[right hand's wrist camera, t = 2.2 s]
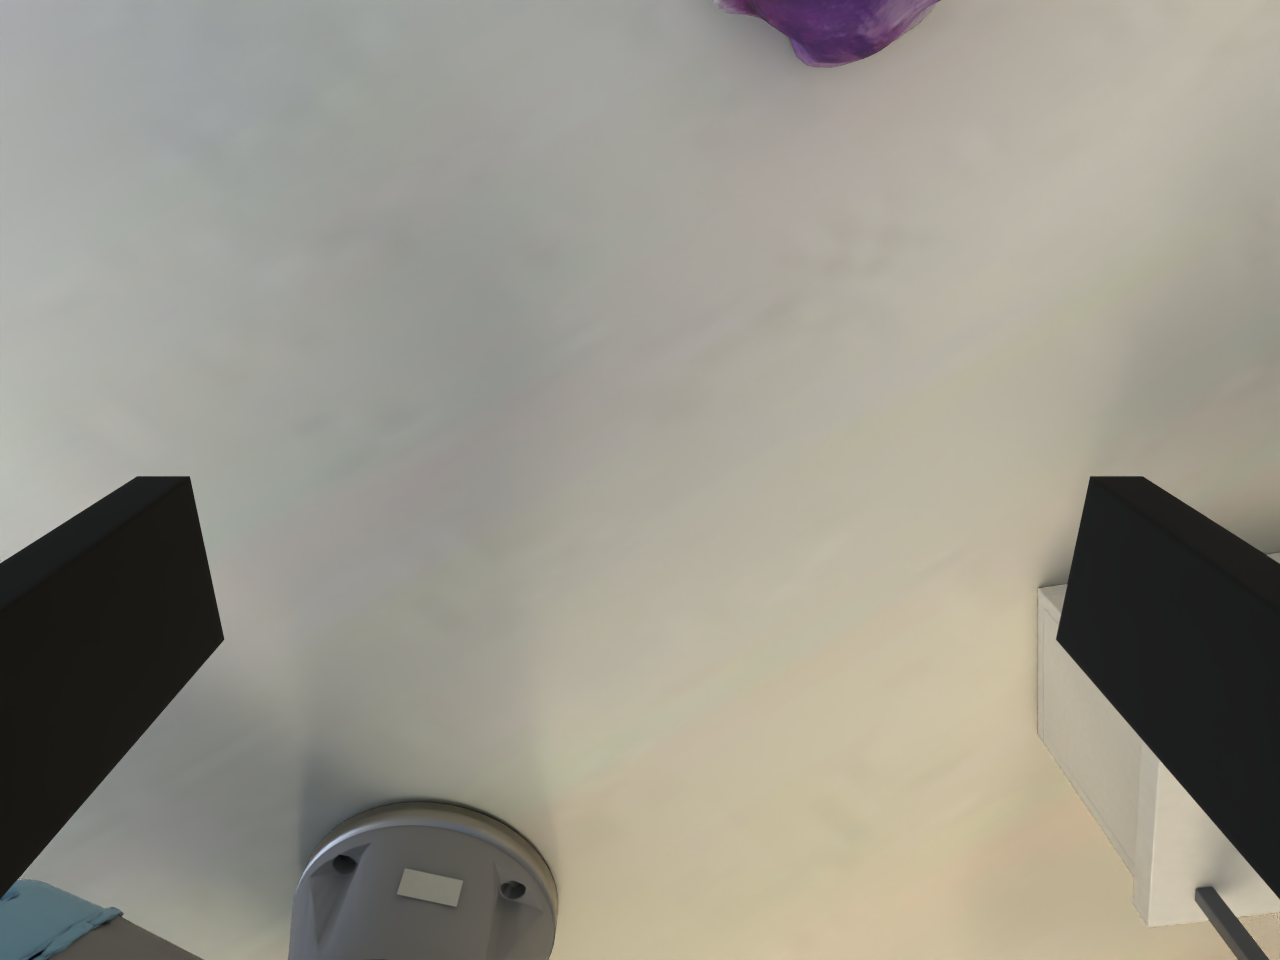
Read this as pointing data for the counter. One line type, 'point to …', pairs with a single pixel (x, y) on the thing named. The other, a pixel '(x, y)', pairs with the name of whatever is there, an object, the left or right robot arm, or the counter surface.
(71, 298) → the counter surface
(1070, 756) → the chest
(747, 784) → the counter surface
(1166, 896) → the lid
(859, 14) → the figurine
